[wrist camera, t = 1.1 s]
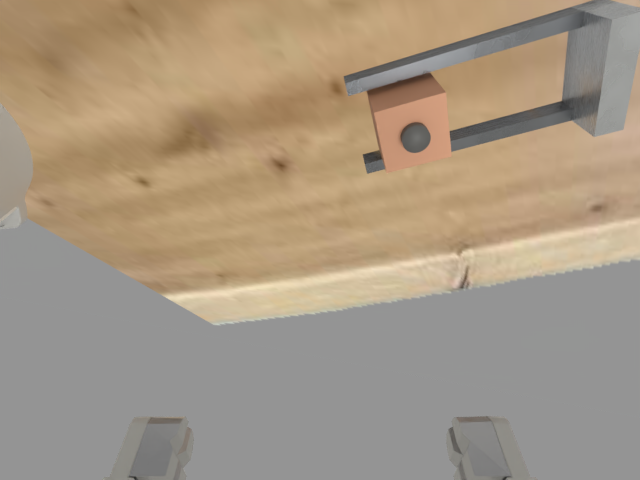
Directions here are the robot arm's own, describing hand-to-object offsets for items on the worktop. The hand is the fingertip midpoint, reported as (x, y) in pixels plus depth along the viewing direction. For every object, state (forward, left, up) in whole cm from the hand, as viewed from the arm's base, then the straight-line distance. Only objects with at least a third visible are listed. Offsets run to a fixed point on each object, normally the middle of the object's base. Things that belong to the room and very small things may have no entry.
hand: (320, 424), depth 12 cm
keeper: (+7, -2, -26) cm, 27 cm away
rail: (+12, -2, -26) cm, 29 cm away
